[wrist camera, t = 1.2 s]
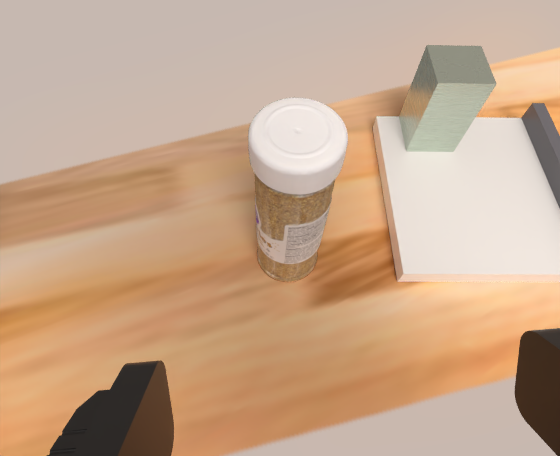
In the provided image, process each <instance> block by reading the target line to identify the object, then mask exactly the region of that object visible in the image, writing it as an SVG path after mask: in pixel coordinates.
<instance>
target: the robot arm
mask: <svg viewBox="0 0 560 456" xmlns="http://www.w3.org/2000/svg"><path fill="white" fill-rule="evenodd" d="M515 398H516V403H517V406H518V408H519V411H520V413H521V415H522V416H523V418H524V419H525V421H526V422H527V423H528V424H529V425H530V426H531V427H532V428H533V430H534V431H535V432H536V433H537V434H538V435H539V436H540V437H541V438H542V439H543V440H544V442H545V443H546V444H547V445H548V446H549V447H550V448H551V449H552V450H553V451H554V452H555V453H556V455H557V456H560V328H557V329H545V330H533V331H527V332H525V333H524V334H523V335H522V337H521V340H520V347H519V356H518V365H517V374H516V383H515ZM173 439H174V422H173V415H172V408H171V402H170V395H169V389H168V382H167V376H166V369H165V365H164V363H163V362H162V361H151V362H139V363H127V364H125V365H124V366H123V368H122V369H121V371H120V373H119V375H118V376H117V378H116V380H115V382H114V383H113V385H112V387H111V389H110V390H101V391H97V392H96V393H95V394H94V395H93V396H92V397H90V398H89V399H88V400H87V401H86V402H85V403H83V404H82V405H81V406H80V407H79V408H78V409H76V411H75V413H74V414H73V416H72V417H71V419H70V420H69V422H68V423H67V425H66V426H65V428H64V429H63V431H62V436H59V437H58V439H57V440H56V442H55V443H54V445H53V446H52V448H51V449H50V454H49V455H47V456H171V453H172V448H173Z"/></svg>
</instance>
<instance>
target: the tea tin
mask: <svg viewBox="0 0 560 456" xmlns="http://www.w3.org/2000/svg"><path fill="white" fill-rule="evenodd" d="M495 85H496V81H495V79H494V77H493V74H492V72H491V69H490V67H489V64H488V62H487V59H486V57H485V54H484V52H483V49H482V47H481V46H441V45H427V46H426V49H425V51H424V54H423V56H422V59H421V61H420V64H419V66H418V69H417V71H416V74H415V77H414V79H413V82H412V84H411V87H410V89H409V92H408V94H407V97H406V100H405V102H404V105H403V107H402V110H401V112H400V115H399V120H400V124H401V129H402V134H403V139H404V143H405V148H406V151H409V152H454V150H455V149H456V147H457V146H458V144H459V143H460V141H461V139H462V138H463V136H464V135H465V133H466V131H467V130H468V128H469V127H470V125H471V124H472V122H473V120H474V119H475V117H476V116H477V114H478V112H479V111H480V109H481V108H482V106H483V104H484V103H485V101H486V100H487V98H488V97H489V95H490V93H491V92H492V90H493V89H494V87H495Z"/></svg>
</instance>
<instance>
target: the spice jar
mask: <svg viewBox="0 0 560 456" xmlns="http://www.w3.org/2000/svg"><path fill="white" fill-rule="evenodd" d="M347 143H348V135H347V129H346V126H345V124H344V122H343V120H342V119H341V118H340V116H339V115H338V114H337V113H336V112H335V111H334V110H332V109H331V108H330V107H328V106H327V105H325V104H323V103H321V102H318V101H315V100H312V99H306V98H286V99H281V100H278V101H275V102H273V103H270V104H269V105H267V106H265V107H264V108H262V109H261V110H260V111H259V112H258V113H257V114H256V115H255V117H254V118H253V120H252V122H251V124H250V127H249V132H248V148H249V159H250V164H251V167H252V169H253V171H254V174H255V192H256V195H255V208H256V228H257V240H258V249H257V257H258V262H259V264H260V266H261V268H262V269H263V270H264V272H265V273H266V274H267V275H268V276H270V277H272V278H273V279H275V280H279V281H284V282H295V281H297V280H300V279H302V278H304V277H306V276H307V275H308V274H309V273H310V272H311V271H312V270H313V268H314V266H315V264H316V261H317V250H318V247H319V245H320V242H321V239H322V235H323V231H324V227H325V223H326V219H327V215H328V212H329V207H330V203H331V196H332V191H333V186H334V182H335V179H336V177H337V176H338V174H339V173H340V170H341V168H342V165H343V161H344V158H345V153H346V148H347Z"/></svg>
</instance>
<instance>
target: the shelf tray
mask: <svg viewBox="0 0 560 456" xmlns="http://www.w3.org/2000/svg"><path fill="white" fill-rule="evenodd" d="M373 134H374V141H375V147H376V153H377V159H378V165H379V172H380V178H381V184H382V190H383V196H384V202H385V209H386V215H387V221H388V227H389V233H390V240H391V246H392V252H393V258H394V264H395V271H396V277H397V282H560V136H559V134H558V132H557V130H556V127H555V125H554V123H553V121H552V119H551V117H550V115H549V113H548V111H547V108H546V106H545V104H544V103H532V105H531V106H530V107H529V109H528V110H527V111H526V112H525V114H524V115H523V116H522V118H481V117H475V119H474V120H473V122H472V124H471V125H470V127H469V128H468V130H467V131H466V133H465V135H464V136H463V138H462V139H461V141H460V143H459V144H458V146H457V147H456V149H455V150H454V152H409V151H406V148H405V143H404V139H403V134H402V129H401V124H400V120H399V117H397V116H376V119H375V122H374V125H373Z"/></svg>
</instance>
